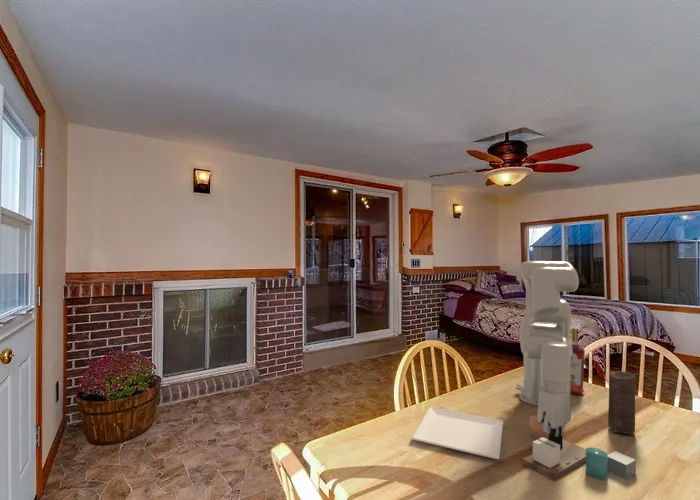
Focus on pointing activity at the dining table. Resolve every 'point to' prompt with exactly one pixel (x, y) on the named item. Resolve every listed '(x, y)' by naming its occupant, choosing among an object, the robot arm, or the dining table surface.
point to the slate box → (621, 465)
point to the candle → (622, 402)
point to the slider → (546, 452)
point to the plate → (461, 432)
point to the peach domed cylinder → (536, 428)
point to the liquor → (576, 365)
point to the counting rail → (568, 461)
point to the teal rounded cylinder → (596, 463)
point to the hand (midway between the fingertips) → (555, 447)
